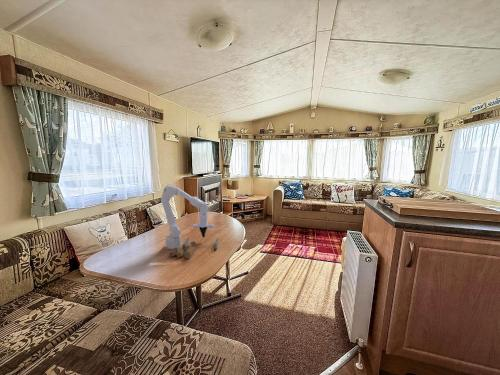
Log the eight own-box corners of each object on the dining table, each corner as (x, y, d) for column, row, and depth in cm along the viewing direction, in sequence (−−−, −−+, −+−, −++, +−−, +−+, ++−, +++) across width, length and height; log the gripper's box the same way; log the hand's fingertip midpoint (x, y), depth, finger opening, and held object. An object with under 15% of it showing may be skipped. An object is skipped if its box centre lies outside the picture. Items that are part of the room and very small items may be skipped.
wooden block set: (166, 251, 123) (172, 244, 133) (171, 264, 124) (177, 256, 134) (194, 242, 122) (198, 236, 132) (199, 255, 123) (203, 247, 133)
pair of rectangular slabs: (183, 250, 135) (182, 244, 134) (187, 243, 146) (187, 237, 146) (216, 250, 136) (216, 244, 135) (218, 243, 148) (218, 237, 147)
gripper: (192, 220, 142) (192, 238, 144) (212, 220, 143) (212, 238, 145) (194, 217, 149) (194, 235, 151) (214, 217, 150) (214, 235, 152)
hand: (203, 236), depth 148 cm, fingers closed
